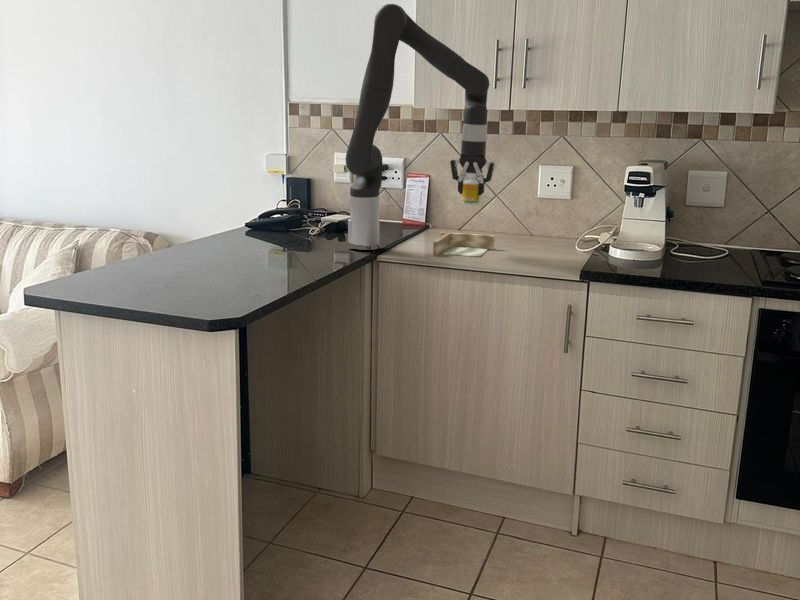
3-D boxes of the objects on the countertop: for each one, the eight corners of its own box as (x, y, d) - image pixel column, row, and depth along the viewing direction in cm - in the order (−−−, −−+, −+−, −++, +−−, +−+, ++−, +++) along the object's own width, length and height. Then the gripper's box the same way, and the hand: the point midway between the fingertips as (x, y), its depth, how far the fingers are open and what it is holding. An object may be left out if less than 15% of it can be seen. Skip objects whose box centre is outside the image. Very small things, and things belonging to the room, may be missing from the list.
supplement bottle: (477, 205, 245) (479, 174, 242) (460, 204, 246) (462, 173, 243) (479, 203, 250) (481, 172, 248) (462, 202, 251) (464, 171, 249)
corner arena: (426, 255, 248) (426, 241, 247) (440, 245, 264) (440, 231, 263) (482, 259, 243) (483, 245, 242) (493, 248, 259) (494, 235, 257)
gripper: (448, 138, 241) (445, 194, 246) (494, 141, 237) (491, 197, 242) (454, 137, 248) (451, 191, 253) (499, 139, 244) (495, 194, 249)
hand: (470, 194), depth 247 cm, fingers closed on supplement bottle, 5 cm apart
